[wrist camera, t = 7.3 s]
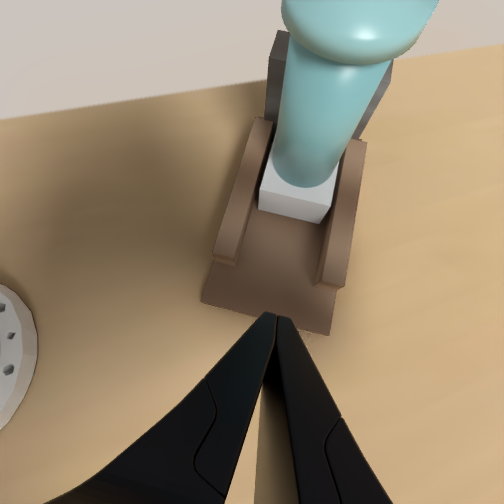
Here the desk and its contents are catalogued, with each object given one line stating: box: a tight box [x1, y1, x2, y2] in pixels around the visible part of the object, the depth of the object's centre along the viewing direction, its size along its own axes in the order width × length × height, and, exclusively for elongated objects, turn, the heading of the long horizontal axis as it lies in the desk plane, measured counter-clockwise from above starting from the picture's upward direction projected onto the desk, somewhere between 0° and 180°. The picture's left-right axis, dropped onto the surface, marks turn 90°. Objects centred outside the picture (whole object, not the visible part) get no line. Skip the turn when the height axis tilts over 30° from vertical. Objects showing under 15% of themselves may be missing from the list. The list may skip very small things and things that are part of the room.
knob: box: [258, 0, 439, 224], centre depth 13 cm, size 5×4×11 cm
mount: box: [201, 30, 393, 336], centre depth 15 cm, size 14×8×7 cm, turn 166°
